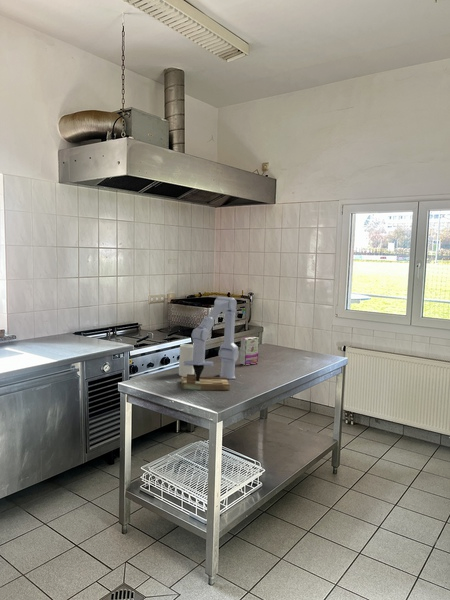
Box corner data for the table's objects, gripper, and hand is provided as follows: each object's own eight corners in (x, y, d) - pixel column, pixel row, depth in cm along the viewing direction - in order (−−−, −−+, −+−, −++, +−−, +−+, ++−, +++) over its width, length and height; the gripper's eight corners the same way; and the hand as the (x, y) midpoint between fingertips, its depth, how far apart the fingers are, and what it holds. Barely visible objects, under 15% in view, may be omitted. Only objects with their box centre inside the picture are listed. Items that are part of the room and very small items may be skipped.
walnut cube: (186, 382, 217) (186, 374, 216) (194, 382, 217) (195, 374, 217) (186, 384, 213) (187, 376, 212) (195, 384, 213) (195, 376, 213)
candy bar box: (252, 362, 277) (253, 336, 275) (257, 364, 273) (259, 337, 271) (239, 364, 269) (240, 337, 268) (244, 366, 266) (246, 339, 264)
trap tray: (181, 381, 224) (181, 376, 224) (226, 382, 227) (226, 377, 227) (181, 389, 211) (182, 383, 211) (229, 390, 214) (229, 384, 214)
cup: (196, 374, 240) (198, 345, 239) (188, 377, 233) (189, 347, 232) (184, 371, 244) (186, 343, 243) (175, 374, 237) (177, 345, 236)
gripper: (184, 354, 210) (182, 382, 211) (214, 355, 211) (213, 382, 213) (183, 351, 217) (182, 378, 218) (213, 351, 218) (211, 378, 220)
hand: (197, 380), depth 216 cm, fingers closed
